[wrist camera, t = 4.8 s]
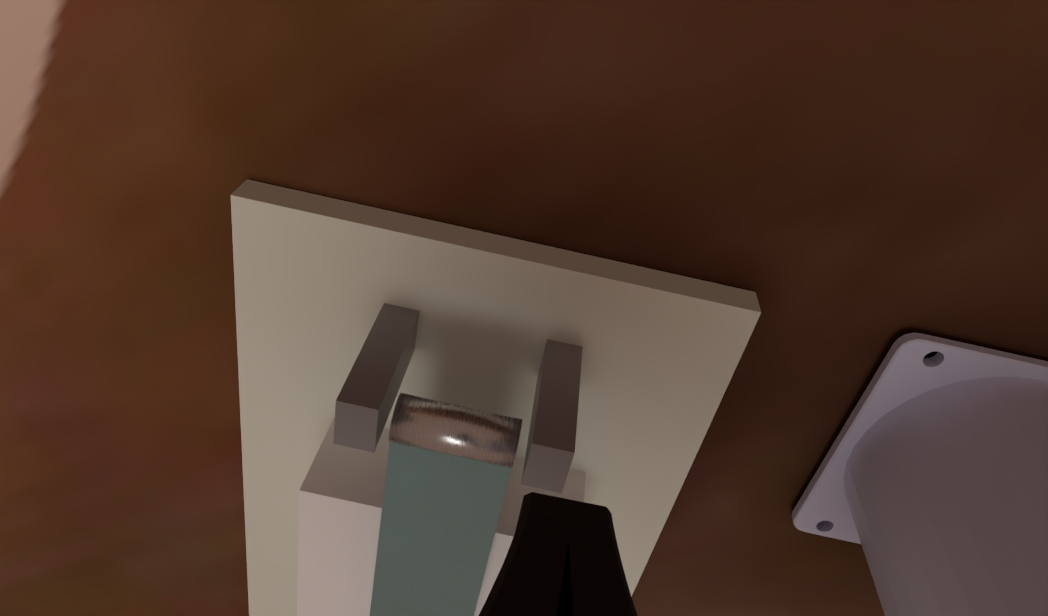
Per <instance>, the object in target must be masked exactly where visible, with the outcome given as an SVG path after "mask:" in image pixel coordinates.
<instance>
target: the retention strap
mask: <svg viewBox="0 0 1048 616" xmlns="http://www.w3.org/2000/svg"><path fill="white" fill-rule="evenodd" d="M521 427H522V419H519V418H514V417H510V416H505V415H501V414H496V413H491V412H487V411H482V410H478V409H473V408H469V407H464V406H459V405H455V404H450V403H446V402H441V401H437V400H432V399H427V398H423V397H418V396H414V395H409V394H405V393H400V395H399V397H398V399H397V402H396V405H395V409H394V412H393V416H392V420H391V425H390V431H389V442H390V443H389V452H388V460H387V469H386V478H385V486H384V495H383V504H382V513H381V521H380V530H379V539H378V547H377V556H376V565H375V573H374V582H373V591H372V599H371V608H370V616H474V613H475V609H476V605H477V601H478V597H479V594H480V590H481V586H482V582H483V578H484V574H485V570H486V566H487V563H488V559H489V555H490V551H491V547H492V543H493V539H494V535H495V531H496V528H497V524H498V520H499V516H500V512H501V508H502V504H503V500H504V497H505V493H506V489H507V485H508V481H509V477H510V473H511V469H512V467H513V464H514V460H515V456H516V451H517V447H518V442H519V437H520V432H521Z"/></svg>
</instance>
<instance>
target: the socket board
mask: <svg viewBox="0 0 1048 616" xmlns="http://www.w3.org/2000/svg"><path fill="white" fill-rule="evenodd" d="M231 214H232V236H233V259H234V282H235V304H236V327H237V350H238V372H239V395H240V418H241V440H242V463H243V486H244V508H245V531H246V554H247V576H248V599H249V616H370V608H371V599H372V591H373V582H374V573H375V565H376V556H377V547H378V539H379V530H380V521H381V513H382V504H383V495H384V486H385V478H386V469H387V460H388V452H389V443H390V442H389V431H390V425H391V420H392V416H393V412H394V409H395V405H396V402H397V399H398V397H399V395H400V393H405V394H409V395H414V396H418V397H423V398H427V399H432V400H437V401H441V402H446V403H450V404H455V405H459V406H464V407H469V408H473V409H478V410H482V411H487V412H491V413H496V414H501V415H505V416H510V417H514V418H519V419H522V427H521V432H520V437H519V442H518V447H517V451H516V456H515V460H514V464H513V467H512V469H511V473H510V477H509V481H508V485H507V489H506V493H505V497H504V500H503V504H502V508H501V512H500V516H499V520H498V524H497V528H496V531H495V535H494V539H493V543H492V547H491V551H490V555H489V559H488V563H487V566H486V570H485V574H484V578H483V582H482V586H481V590H480V594H479V597H478V601H477V605H476V609H475V613H474V616H478V615H479V614H480V612H481V610H482V608H483V606H484V604H485V602H486V600H487V597H488V595H489V593H490V591H491V589H492V587H493V585H494V582H495V580H496V578H497V576H498V574H499V572H500V569H501V567H502V565H503V563H504V560H505V558H506V555H507V553H508V550H509V548H510V545H511V543H512V540H513V537H514V534H515V530H516V526H517V522H518V518H519V514H520V509H521V505H522V501H523V497H524V495H526V494H528V493H531V492H535V493H540V494H545V495H550V496H555V497H560V498H565V499H570V500H575V501H580V502H585V503H590V504H595V505H601V506H606V507H607V508H608V509H609V511H610V512H611V514H612V520H613V526H614V531H615V536H616V540H617V545H618V549H619V553H620V557H621V561H622V565H623V569H624V573H625V576H626V580H627V584H628V587H629V591H630V594H631V597H632V594H633V592H634V590H635V588H636V586H637V583H638V581H639V579H640V577H641V575H642V573H643V570H644V568H645V566H646V564H647V562H648V559H649V557H650V555H651V553H652V551H653V548H654V546H655V544H656V542H657V540H658V538H659V535H660V533H661V531H662V529H663V527H664V524H665V522H666V520H667V518H668V516H669V513H670V511H671V509H672V507H673V505H674V502H675V500H676V498H677V496H678V494H679V492H680V489H681V487H682V485H683V483H684V481H685V478H686V476H687V474H688V472H689V470H690V467H691V465H692V463H693V461H694V459H695V457H696V454H697V452H698V450H699V448H700V446H701V443H702V441H703V439H704V437H705V435H706V432H707V430H708V428H709V426H710V424H711V422H712V419H713V417H714V415H715V413H716V411H717V408H718V406H719V404H720V402H721V400H722V397H723V395H724V393H725V391H726V389H727V387H728V384H729V382H730V380H731V378H732V376H733V373H734V371H735V369H736V367H737V365H738V362H739V360H740V358H741V356H742V354H743V351H744V349H745V347H746V345H747V343H748V341H749V338H750V336H751V334H752V332H753V330H754V327H755V325H756V323H757V321H758V319H759V316H760V314H761V310H760V306H759V303H758V299H757V295H756V292H753V291H749V290H744V289H740V288H735V287H731V286H726V285H722V284H717V283H713V282H708V281H704V280H699V279H695V278H690V277H686V276H681V275H677V274H672V273H668V272H663V271H659V270H654V269H650V268H645V267H641V266H636V265H632V264H627V263H623V262H618V261H614V260H609V259H605V258H600V257H596V256H591V255H587V254H582V253H578V252H573V251H569V250H564V249H560V248H555V247H551V246H546V245H542V244H537V243H533V242H528V241H524V240H519V239H514V238H510V237H505V236H501V235H496V234H492V233H487V232H483V231H478V230H474V229H469V228H465V227H460V226H456V225H451V224H447V223H442V222H438V221H433V220H429V219H424V218H420V217H415V216H411V215H406V214H402V213H397V212H393V211H388V210H384V209H379V208H375V207H370V206H366V205H361V204H357V203H352V202H348V201H343V200H339V199H334V198H330V197H325V196H321V195H316V194H312V193H307V192H303V191H298V190H294V189H289V188H285V187H280V186H275V185H271V184H266V183H262V182H257V181H253V180H248V179H247V180H246V181H245V182H244V183H243V184H242V185H241V186H240V187H239V188H237V189H236V190H235V191H234V192H233V193H232V194H231Z"/></svg>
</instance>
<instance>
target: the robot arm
mask: <svg viewBox="0 0 1048 616" xmlns="http://www.w3.org/2000/svg"><path fill="white" fill-rule="evenodd" d="M930 352H938V353H937V354H936V355H935V356H933V357H930V358H924V356H925V355H926V354H928V353H930ZM792 519H793V523H794V526H795V527H796V528H797V529H798V530H801V531H803V532H808V533H812V534H817V535H821V536H826V537H830V538H835V539H840V540H844V541H849V542H853V543H858V544H862V548H863V551H864V554H865V557H866V560H867V563H868V566H869V569H870V572H871V575H872V578H873V581H874V584H875V587H876V590H877V593H878V596H879V599H880V602H881V605H882V608H883V611H884V614H885V616H1048V361H1044V360H1039V359H1035V358H1030V357H1026V356H1021V355H1017V354H1012V353H1008V352H1003V351H999V350H994V349H990V348H985V347H981V346H976V345H972V344H967V343H962V342H958V341H953V340H949V339H944V338H940V337H935V336H931V335H926V334H922V333H909V334H905V335H903V336H901V337H900V338H898V339H897V340H896V341H895V342H894V343H893V345H892V347H891V348H890V350H889V352H888V353H887V355H886V357H885V358H884V360H883V362H882V363H881V365H880V367H879V368H878V370H877V372H876V373H875V375H874V376H873V378H872V380H871V381H870V383H869V385H868V386H867V388H866V390H865V391H864V393H863V395H862V396H861V398H860V400H859V401H858V403H857V405H856V406H855V408H854V410H853V411H852V413H851V415H850V416H849V418H848V420H847V421H846V423H845V425H844V426H843V428H842V430H841V431H840V433H839V435H838V436H837V438H836V440H835V441H834V443H833V445H832V446H831V448H830V450H829V451H828V453H827V455H826V456H825V458H824V460H823V461H822V463H821V465H820V466H819V468H818V470H817V471H816V473H815V475H814V476H813V478H812V480H811V481H810V483H809V485H808V486H807V488H806V490H805V491H804V493H803V495H802V496H801V498H800V500H799V501H798V503H797V505H796V506H795V508H794V510H793V512H792ZM821 521H824V522H821ZM478 616H637V613H636V610H635V607H634V604H633V601H632V597H631V594H630V591H629V587H628V584H627V580H626V576H625V573H624V569H623V565H622V561H621V557H620V553H619V549H618V545H617V540H616V536H615V531H614V526H613V520H612V514H611V512H610V511H609V509H608V508H607V507H606V506H601V505H595V504H590V503H585V502H580V501H575V500H570V499H565V498H560V497H555V496H550V495H545V494H540V493H535V492H531V493H528V494H526V495H524V497H523V501H522V505H521V509H520V514H519V518H518V522H517V526H516V530H515V534H514V537H513V540H512V543H511V545H510V548H509V550H508V553H507V555H506V558H505V560H504V563H503V565H502V567H501V569H500V572H499V574H498V576H497V578H496V580H495V582H494V585H493V587H492V589H491V591H490V593H489V595H488V597H487V600H486V602H485V604H484V606H483V608H482V610H481V612H480V614H479V615H478Z"/></svg>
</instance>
